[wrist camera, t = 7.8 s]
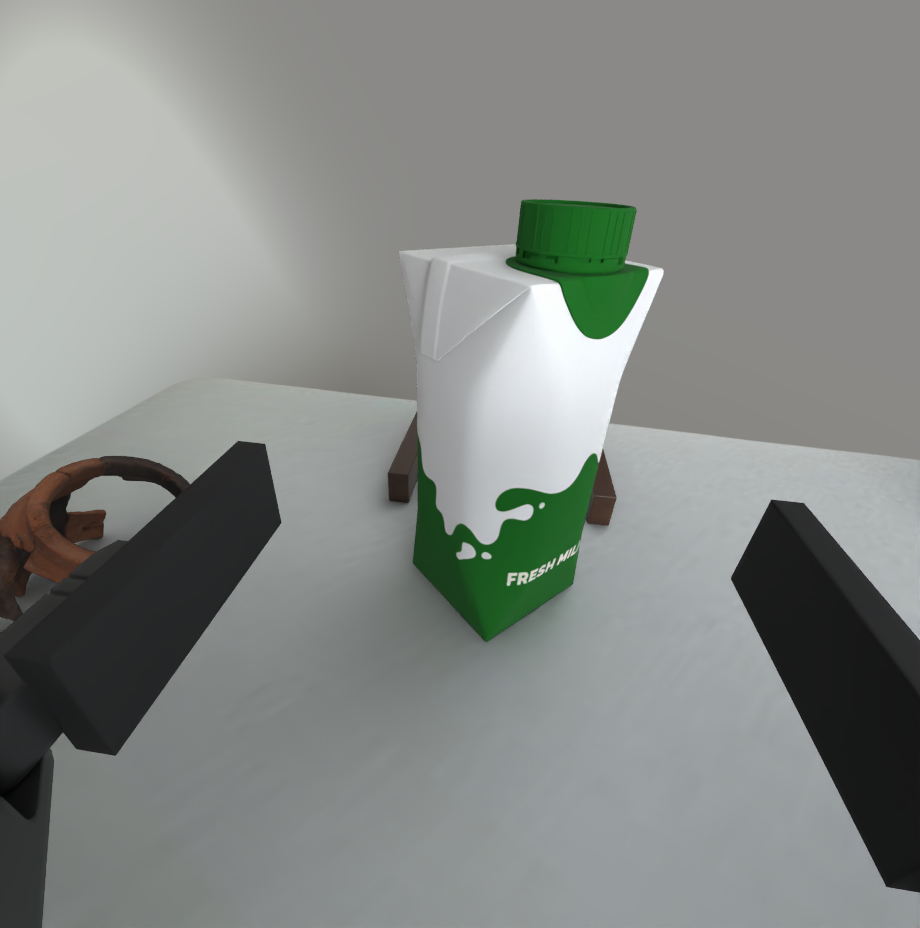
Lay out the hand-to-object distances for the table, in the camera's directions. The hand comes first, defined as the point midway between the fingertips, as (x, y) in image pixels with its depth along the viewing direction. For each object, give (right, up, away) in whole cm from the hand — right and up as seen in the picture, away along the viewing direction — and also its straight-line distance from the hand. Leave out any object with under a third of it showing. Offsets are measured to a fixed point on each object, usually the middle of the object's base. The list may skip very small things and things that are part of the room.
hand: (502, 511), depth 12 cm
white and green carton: (+1, -6, +16) cm, 17 cm away
